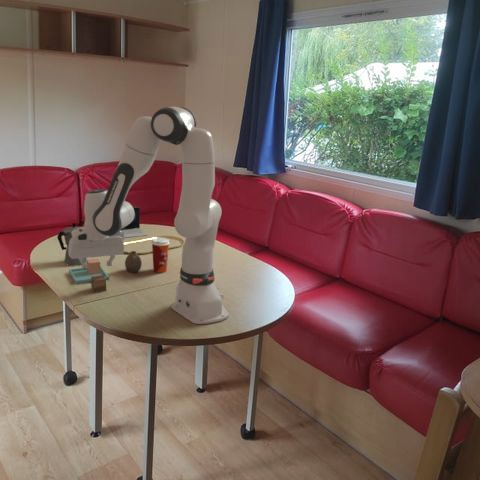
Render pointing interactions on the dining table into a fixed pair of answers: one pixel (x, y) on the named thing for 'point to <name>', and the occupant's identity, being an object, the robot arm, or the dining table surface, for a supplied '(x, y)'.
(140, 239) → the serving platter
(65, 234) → the coffeepot
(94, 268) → the terracotta block
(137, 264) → the vase
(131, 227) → the laptop
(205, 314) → the robot arm
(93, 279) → the walnut block
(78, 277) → the tray
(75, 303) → the dining table surface
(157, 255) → the paper cup
